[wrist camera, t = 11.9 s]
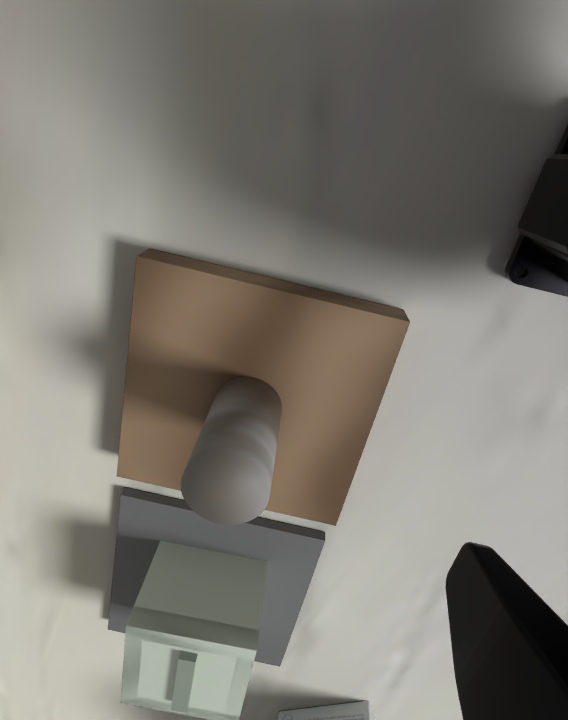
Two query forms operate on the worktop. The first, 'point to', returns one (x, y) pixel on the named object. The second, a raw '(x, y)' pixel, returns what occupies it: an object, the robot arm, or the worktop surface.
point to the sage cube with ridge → (194, 632)
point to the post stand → (250, 388)
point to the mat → (250, 539)
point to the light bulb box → (332, 712)
